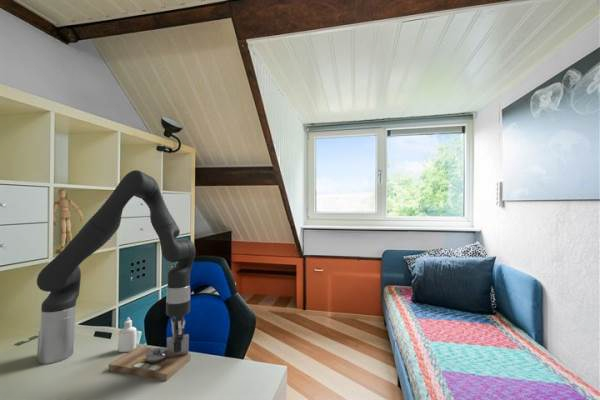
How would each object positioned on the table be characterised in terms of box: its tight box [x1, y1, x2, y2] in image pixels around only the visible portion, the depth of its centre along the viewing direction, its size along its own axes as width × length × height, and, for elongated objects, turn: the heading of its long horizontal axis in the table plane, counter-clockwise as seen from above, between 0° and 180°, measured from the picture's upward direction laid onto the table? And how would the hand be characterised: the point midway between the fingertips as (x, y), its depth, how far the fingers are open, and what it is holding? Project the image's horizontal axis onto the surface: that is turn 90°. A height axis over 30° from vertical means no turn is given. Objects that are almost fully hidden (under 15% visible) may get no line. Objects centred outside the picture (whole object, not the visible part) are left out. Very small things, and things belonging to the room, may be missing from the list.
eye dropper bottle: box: [117, 317, 138, 353], centre depth 101 cm, size 4×6×12 cm
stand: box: [108, 345, 192, 381], centre depth 91 cm, size 22×12×2 cm, turn 77°
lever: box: [138, 333, 190, 364], centre depth 92 cm, size 6×16×6 cm, turn 116°
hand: (177, 351), depth 90 cm, fingers closed
